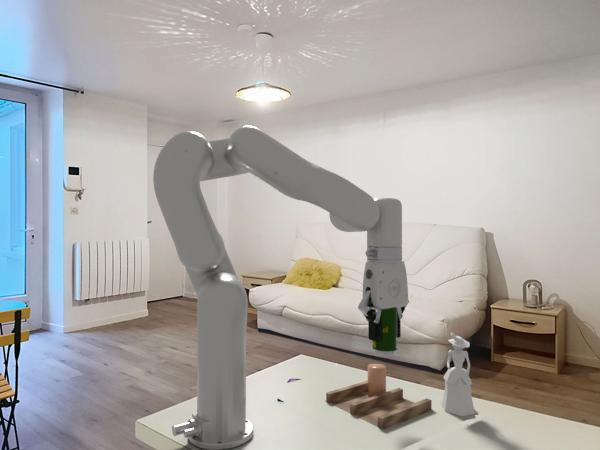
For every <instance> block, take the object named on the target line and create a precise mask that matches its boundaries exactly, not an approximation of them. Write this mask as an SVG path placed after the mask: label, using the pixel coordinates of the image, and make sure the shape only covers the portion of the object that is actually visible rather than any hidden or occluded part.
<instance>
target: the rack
mask: <svg viewBox="0 0 600 450" xmlns="http://www.w3.org/2000/svg"><path fill="white" fill-rule="evenodd" d="M325 395H326V398H325V402H326V403H328V404H330V405H332V406H335V407H336V408H339V409H341V410H343V411H344V412H347V413H348V414H351V415H353V416H355V417H357V418H359V419H361V420H363V421H365V422H367V423H369V424H371V425H373V426H374V427H377V428H379V429H382V430H383V431H384V430H387V429H389V428H392V427H394V426H396V425H398V424H401V423H405V422H407V421H409V420H412V419H414V418H417V417H419V416H421V415H424V414H427V413H429V412H432V411H433V409H432V400H431V399H430V398H425V399H421V400H419V401H416V402H414V401H412V400H409V399H407V398H404V389H403V388H400V387H398V388H395V389H391V390H388V391H387V390H386V392H385V393H382V394H379V395H376V396H373V397H368V380H364V381H362V382H358V383H355V384H351V385H348V386H345V387H342V388H338V389H335V390H330V391H328V392H326V393H325Z"/></svg>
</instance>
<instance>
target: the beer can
mask: <svg viewBox="0 0 600 450" xmlns="http://www.w3.org/2000/svg"><path fill="white" fill-rule="evenodd" d="M373 307H374V305H373ZM375 311H376V310H374V311H373V314H374V315H375ZM379 323H381V342H376V341H372V340H371V342H372V344H371V347H372V350H373V352H374V353H375V354H379V355H387V356H388V355H394V354H396V353H397V352H398V338H397V307H393V308H390V309H385V310H382V311H381V315H380V320H379Z"/></svg>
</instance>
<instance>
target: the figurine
mask: <svg viewBox="0 0 600 450" xmlns="http://www.w3.org/2000/svg"><path fill="white" fill-rule="evenodd" d="M447 342H449V343H450V344H451V346H452V347H453V349H449V350H448V351H447V357H446V358H447V360H446V368H447V371H446V372H445V374H444V375H443V380H444V391H443V392H444V393H443V397H442V401H441V404H440V405H441V407H442V409H443V411H444V412H445V413H447V414H453V415H455V416H456V415H457V416H460V417H464V416H465V417H466V416H470V415H472V416H470V417H467V418H466V419H464V420H463V422H464V421H467V420H473V419H476V413H475V408H474V407H475V406H474V402H473V393H472V387H471V386H472V384H473V382H472V380H471V378H470V370H471V361H470V358H469V353H468V351H467V350H463V349H465V348H470V342H469V341H467V340H466V339H464V337H462V336H459V335H456V334H455V332H450V339H448V340H447ZM451 359H452V362H453V365H454V366H453V367H450V366H451V365H450V363H451ZM465 360H466V363H467V367H466V369H465V368H464V367H463V364H464V362H465ZM474 414H475V415H474Z"/></svg>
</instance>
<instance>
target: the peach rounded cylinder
mask: <svg viewBox="0 0 600 450" xmlns="http://www.w3.org/2000/svg"><path fill="white" fill-rule="evenodd" d="M367 381H368V397H373V396H376V395H379V394H382V393H385V392H386V391H387V366H386V365H385V364H381V363H369V364H367Z"/></svg>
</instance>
